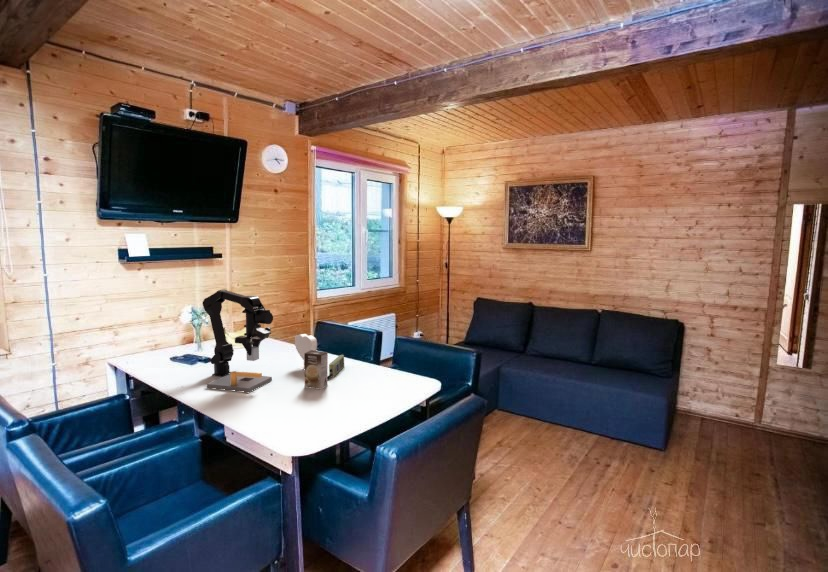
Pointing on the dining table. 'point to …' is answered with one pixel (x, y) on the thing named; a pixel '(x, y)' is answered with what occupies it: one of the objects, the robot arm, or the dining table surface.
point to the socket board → (239, 383)
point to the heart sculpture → (305, 344)
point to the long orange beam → (242, 374)
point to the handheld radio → (336, 366)
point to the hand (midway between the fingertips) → (252, 354)
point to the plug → (253, 354)
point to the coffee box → (316, 369)
